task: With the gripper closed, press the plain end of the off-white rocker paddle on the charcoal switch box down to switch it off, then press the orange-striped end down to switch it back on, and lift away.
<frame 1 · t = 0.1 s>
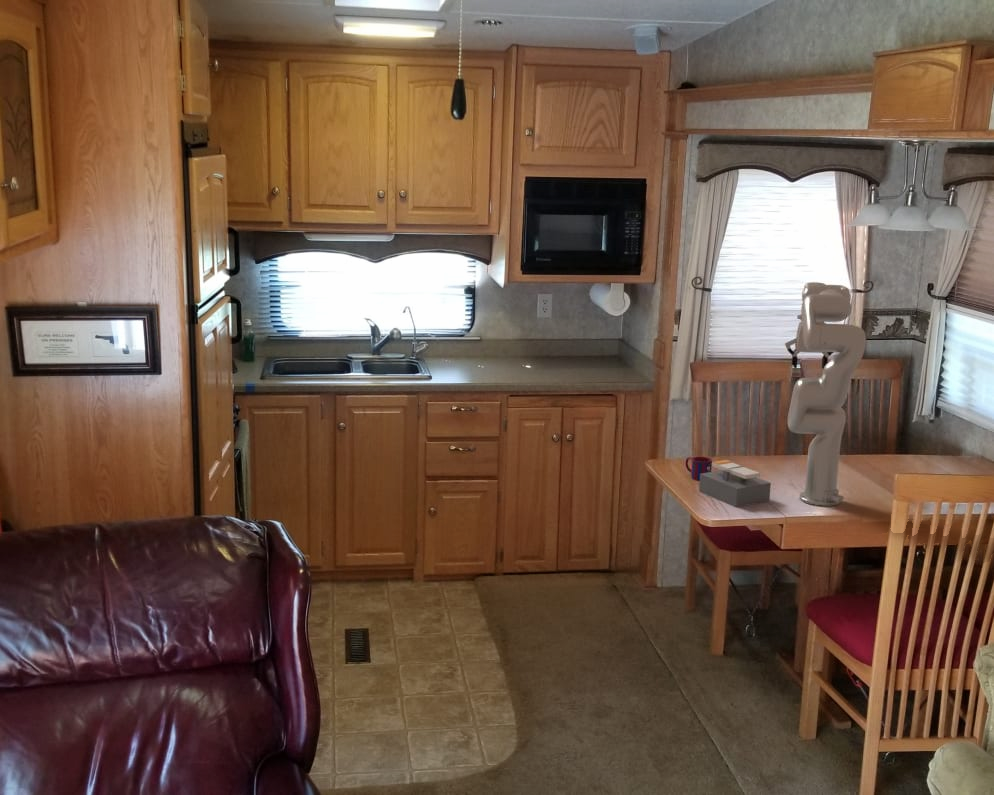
hand: (809, 367, 354), 37 cm above the table, tool pointing down, fingers open, 9 cm apart
mug: (697, 477, 354), on the table
rocker: (735, 469, 332), point 9 cm above the table, hinge at 0.0°
switch box: (733, 495, 334), on the table
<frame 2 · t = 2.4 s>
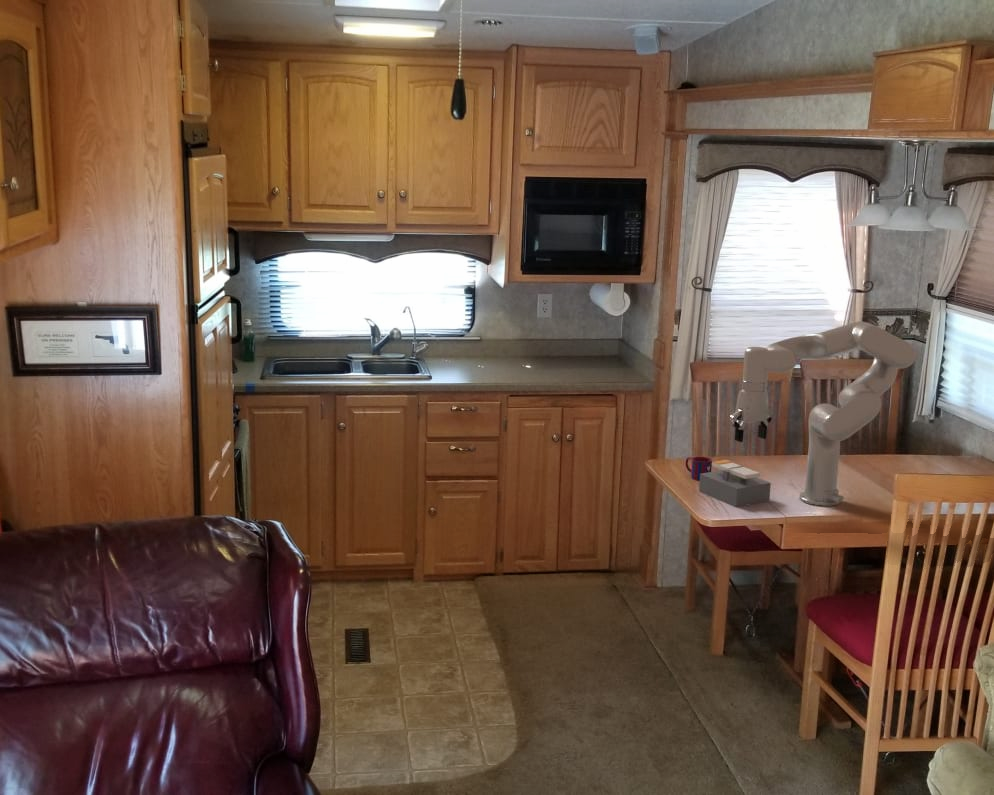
hand: (750, 439, 324), 20 cm above the table, tool pointing down, fingers open, 9 cm apart
nothing on the table moved.
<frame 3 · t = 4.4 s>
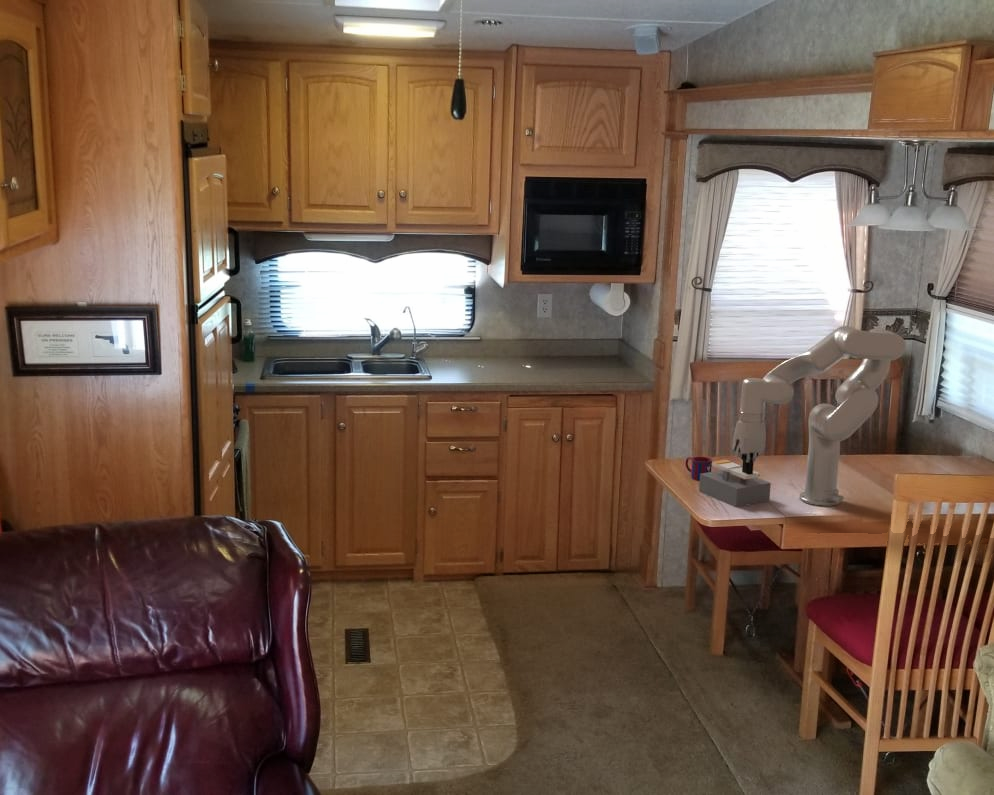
hand: (747, 473, 327), 9 cm above the table, tool pointing down, fingers closed
rocker: (735, 469, 332), point 9 cm above the table, hinge at -1.0°, touching gripper
everything else where it was.
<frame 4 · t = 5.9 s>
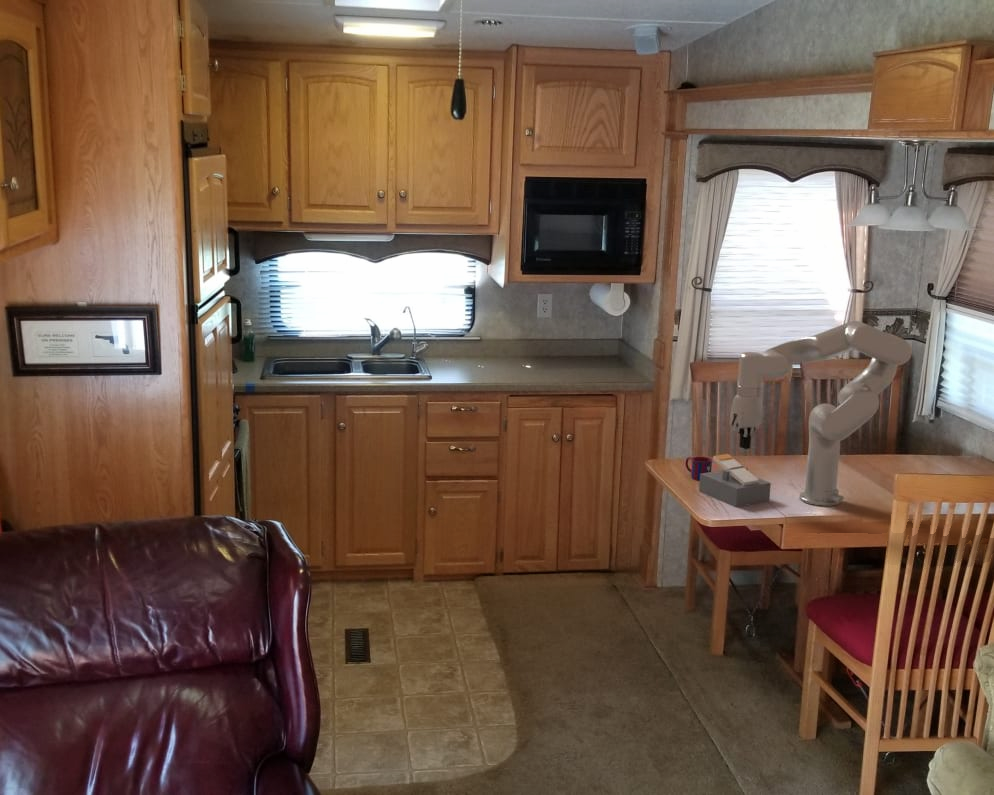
hand: (744, 447, 327), 17 cm above the table, tool pointing down, fingers closed
rocker: (735, 469, 332), point 9 cm above the table, hinge at -17.2°
everything else where it was.
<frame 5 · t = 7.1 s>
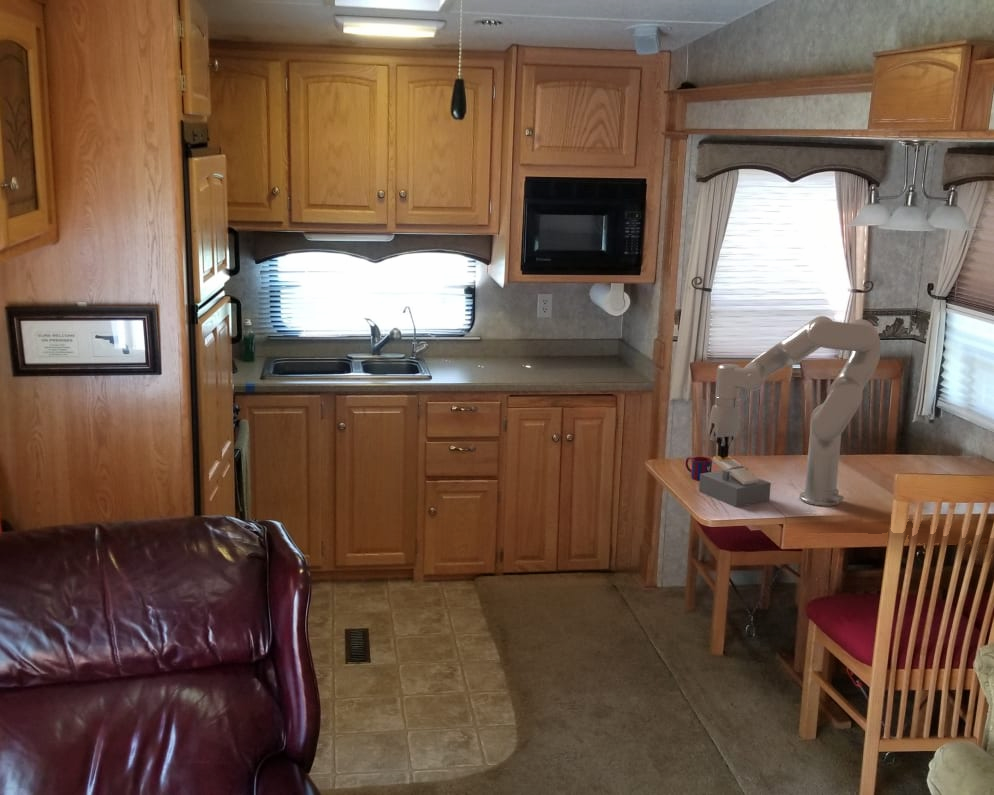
hand: (722, 456, 336), 12 cm above the table, tool pointing down, fingers closed
rocker: (735, 469, 332), point 9 cm above the table, hinge at -15.0°, touching gripper
everything else where it was.
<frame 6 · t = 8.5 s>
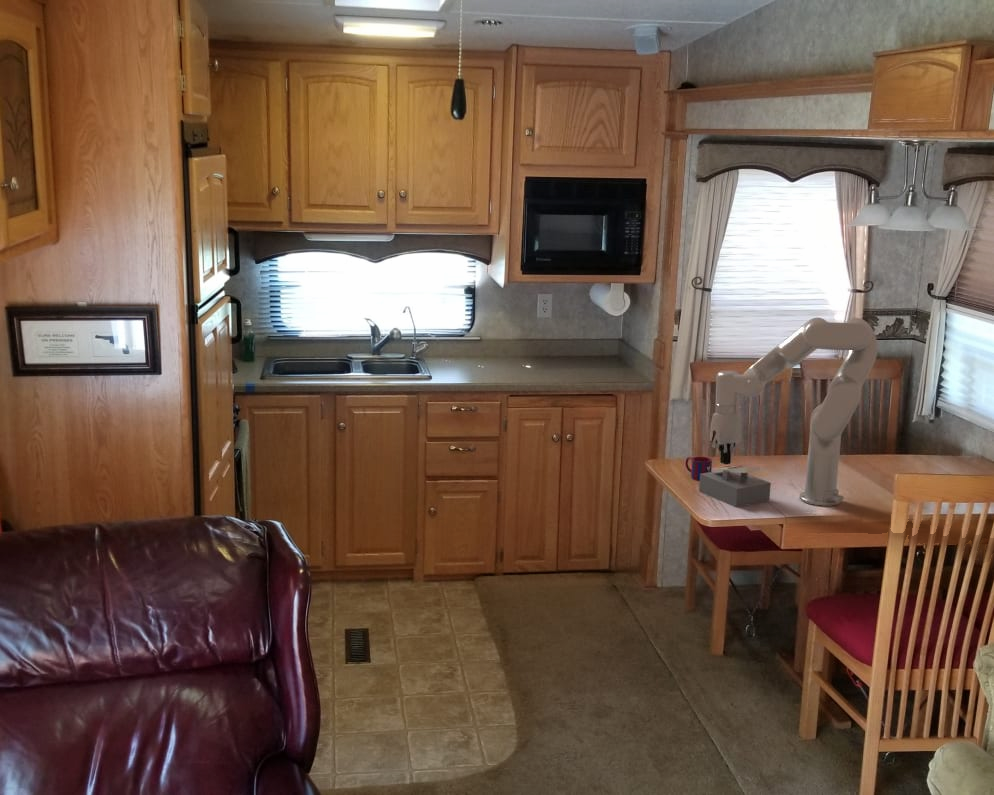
hand: (725, 463, 337), 10 cm above the table, tool pointing down, fingers closed
rocker: (735, 469, 332), point 9 cm above the table, hinge at 14.3°
everything else where it was.
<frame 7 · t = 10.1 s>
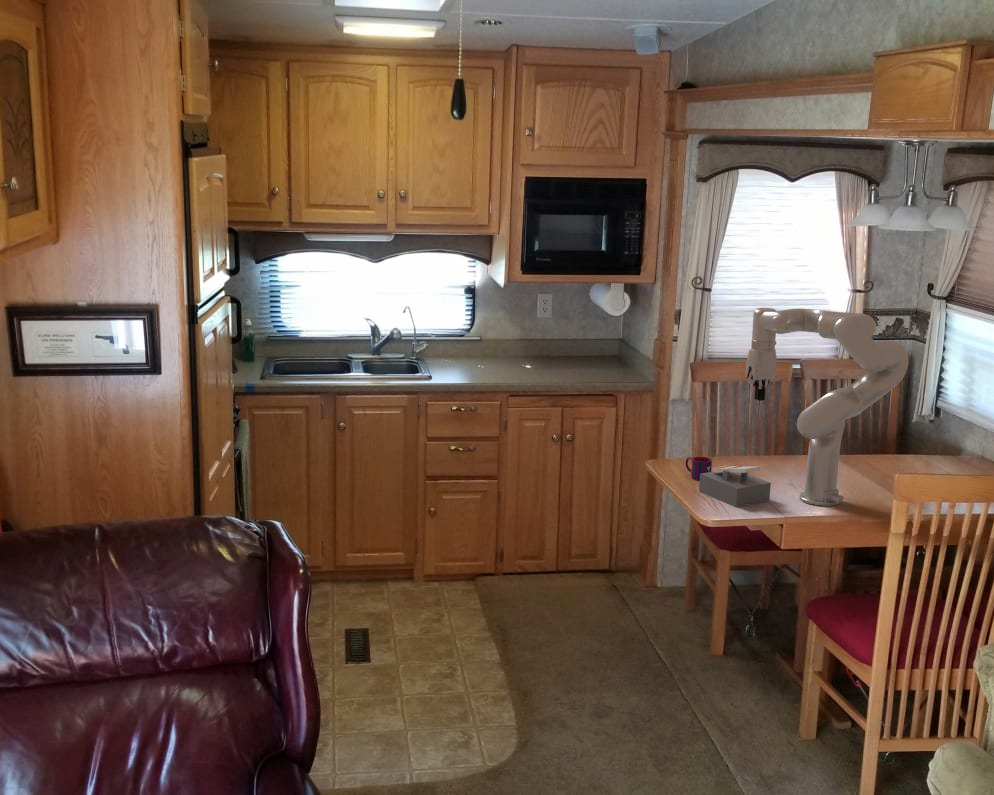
hand: (759, 399, 342), 29 cm above the table, tool pointing down, fingers closed
nothing on the table moved.
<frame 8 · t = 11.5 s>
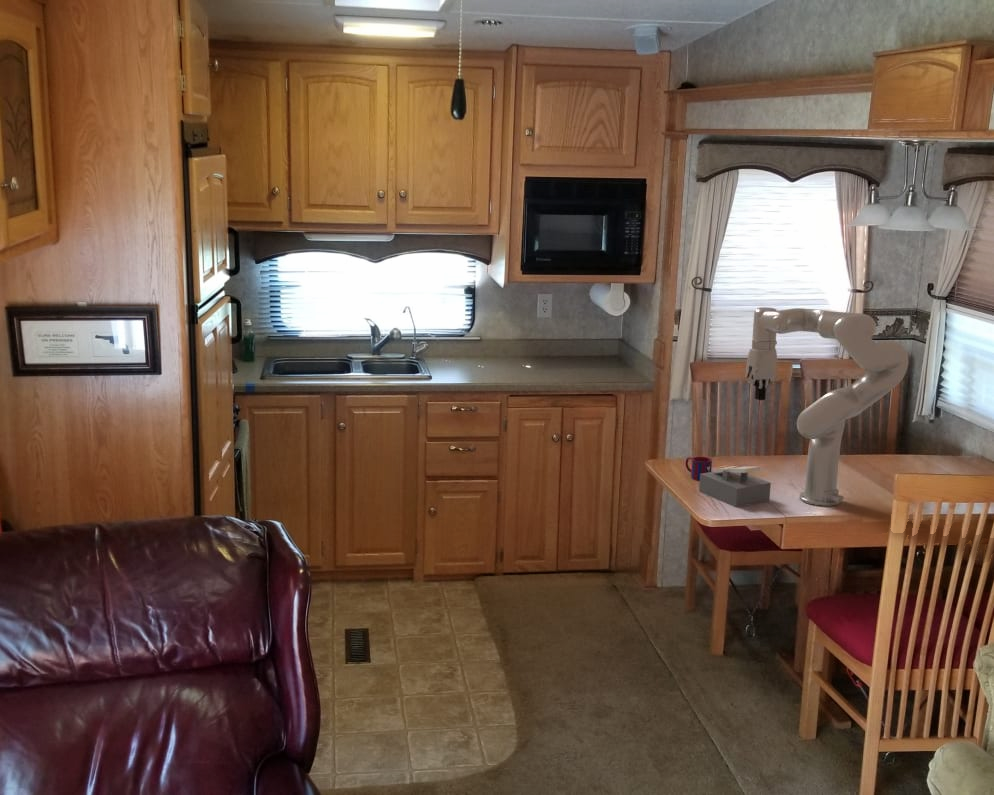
hand: (759, 399, 342), 29 cm above the table, tool pointing down, fingers closed
nothing on the table moved.
at the end: rocker at +14° (first picture: +0°); mug moved 0.3 cm from its start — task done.
